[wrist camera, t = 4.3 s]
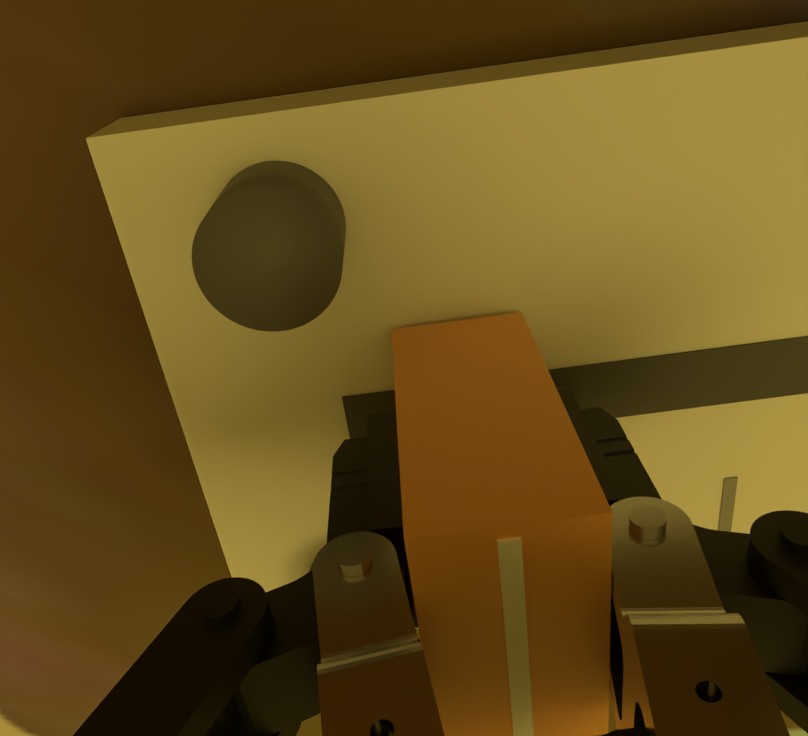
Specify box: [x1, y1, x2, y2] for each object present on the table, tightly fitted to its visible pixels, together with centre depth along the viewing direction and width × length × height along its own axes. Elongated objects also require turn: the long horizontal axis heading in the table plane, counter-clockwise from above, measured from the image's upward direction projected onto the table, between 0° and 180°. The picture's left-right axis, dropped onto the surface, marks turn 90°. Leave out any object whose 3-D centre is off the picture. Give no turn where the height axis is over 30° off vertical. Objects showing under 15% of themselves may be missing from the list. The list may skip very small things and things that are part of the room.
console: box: [86, 21, 808, 629], centre depth 15 cm, size 13×24×4 cm, turn 97°
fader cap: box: [391, 312, 613, 736], centre depth 13 cm, size 4×3×6 cm, turn 7°
